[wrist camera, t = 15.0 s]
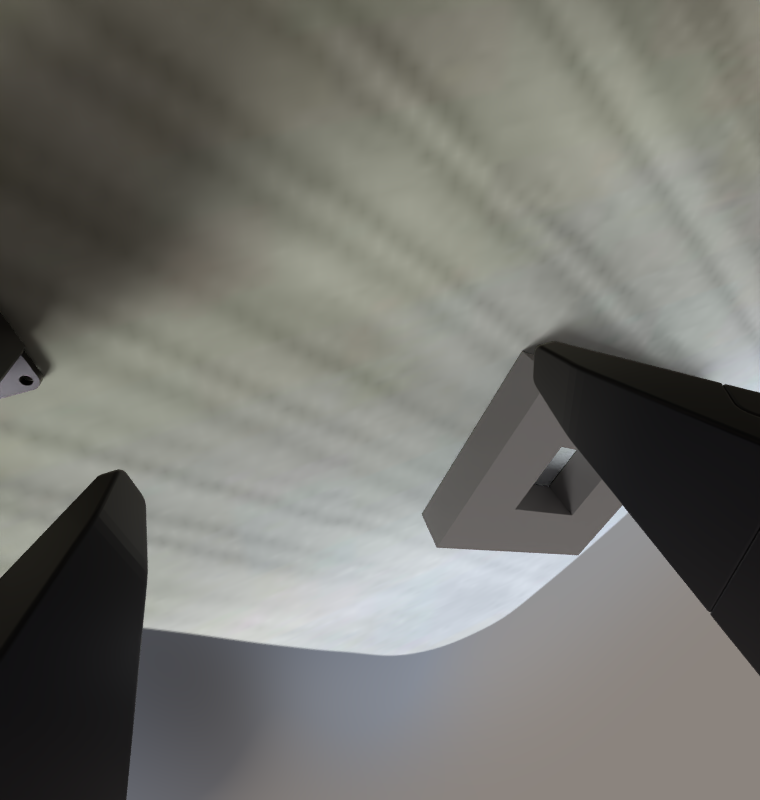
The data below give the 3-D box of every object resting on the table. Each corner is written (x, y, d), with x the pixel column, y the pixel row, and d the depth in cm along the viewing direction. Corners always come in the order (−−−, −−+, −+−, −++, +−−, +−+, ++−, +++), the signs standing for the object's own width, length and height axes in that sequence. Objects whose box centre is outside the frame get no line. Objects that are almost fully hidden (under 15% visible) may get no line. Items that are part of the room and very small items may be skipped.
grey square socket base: (421, 514, 33) (436, 547, 31) (522, 351, 27) (550, 377, 25) (556, 526, 39) (578, 555, 37) (664, 395, 33) (697, 420, 31)
